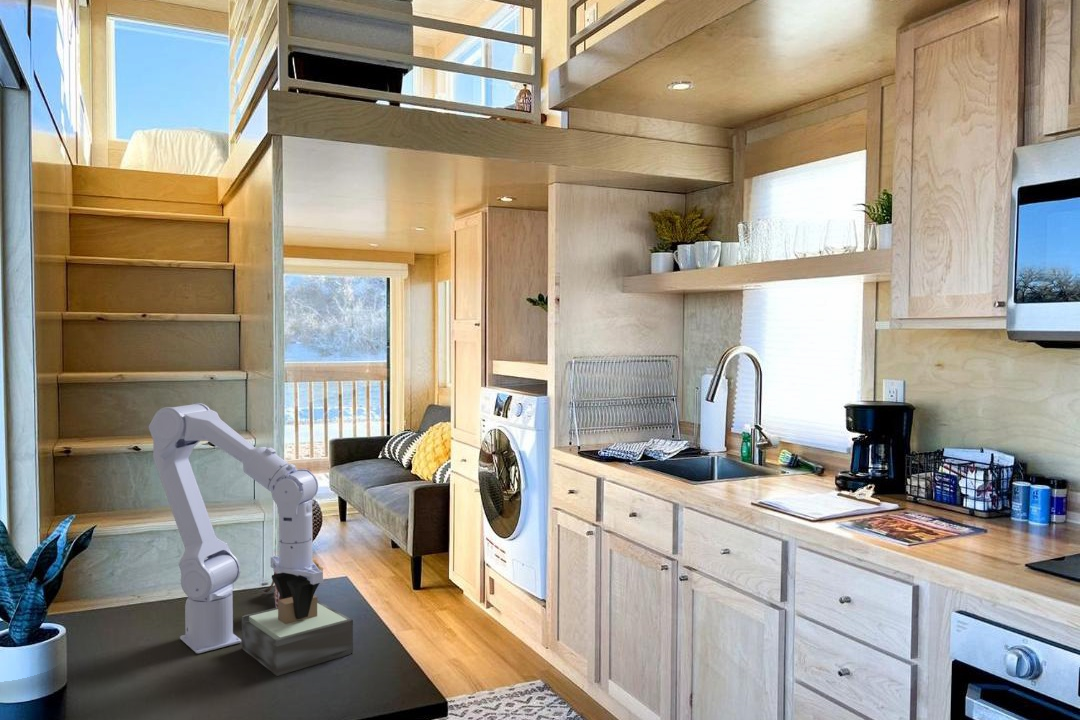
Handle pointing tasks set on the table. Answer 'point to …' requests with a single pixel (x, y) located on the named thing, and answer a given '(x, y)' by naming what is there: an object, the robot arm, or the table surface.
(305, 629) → the lid
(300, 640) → the box
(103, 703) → the table surface
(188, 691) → the table surface
